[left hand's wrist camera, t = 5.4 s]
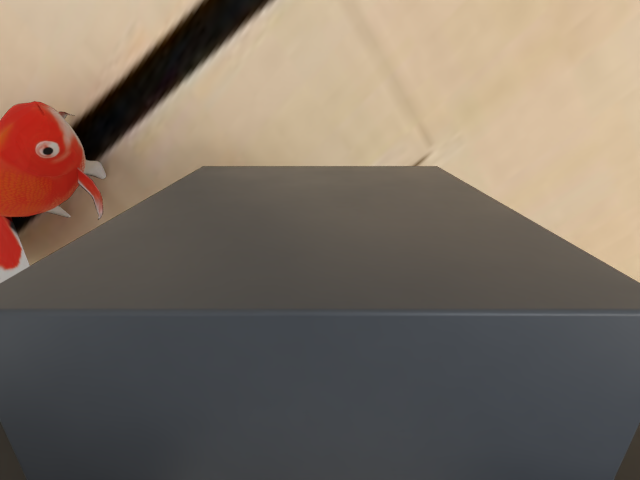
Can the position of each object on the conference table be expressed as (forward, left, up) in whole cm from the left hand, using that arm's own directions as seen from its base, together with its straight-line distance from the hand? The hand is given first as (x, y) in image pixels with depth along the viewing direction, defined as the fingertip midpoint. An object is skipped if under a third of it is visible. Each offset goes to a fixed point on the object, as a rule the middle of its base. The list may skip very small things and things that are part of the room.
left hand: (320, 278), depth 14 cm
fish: (0, -19, -12) cm, 22 cm away
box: (+7, 0, 0) cm, 7 cm away
